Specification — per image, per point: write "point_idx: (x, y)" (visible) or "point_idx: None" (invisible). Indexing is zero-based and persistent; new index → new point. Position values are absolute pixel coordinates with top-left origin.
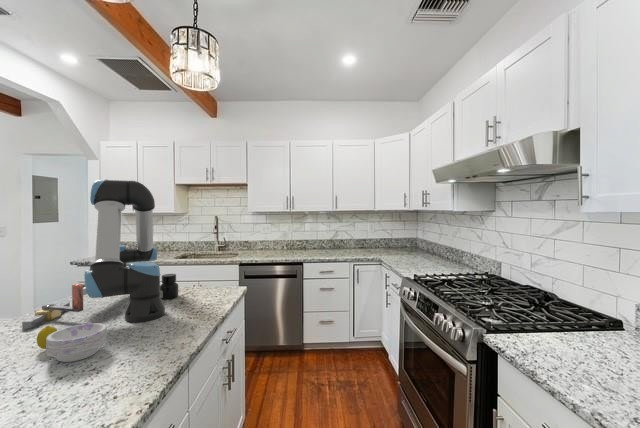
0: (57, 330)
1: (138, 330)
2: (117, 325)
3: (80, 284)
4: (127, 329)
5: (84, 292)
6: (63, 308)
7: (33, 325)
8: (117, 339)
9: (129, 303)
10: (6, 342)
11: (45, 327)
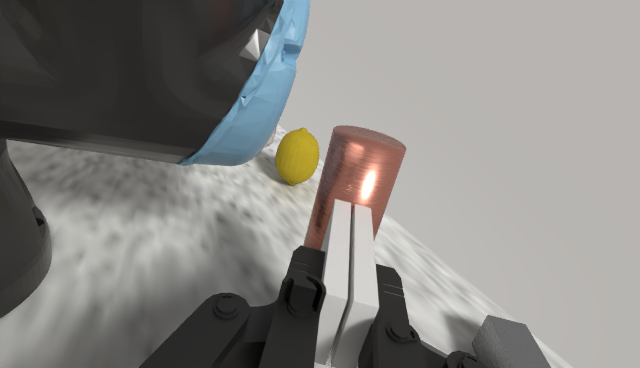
0: (282, 142)
1: (54, 172)
2: (107, 231)
3: (347, 132)
4: (85, 190)
5: (325, 240)
6: (425, 344)
7: (481, 345)
8: (134, 160)
9: (14, 174)
10: (438, 258)
11: (308, 132)
